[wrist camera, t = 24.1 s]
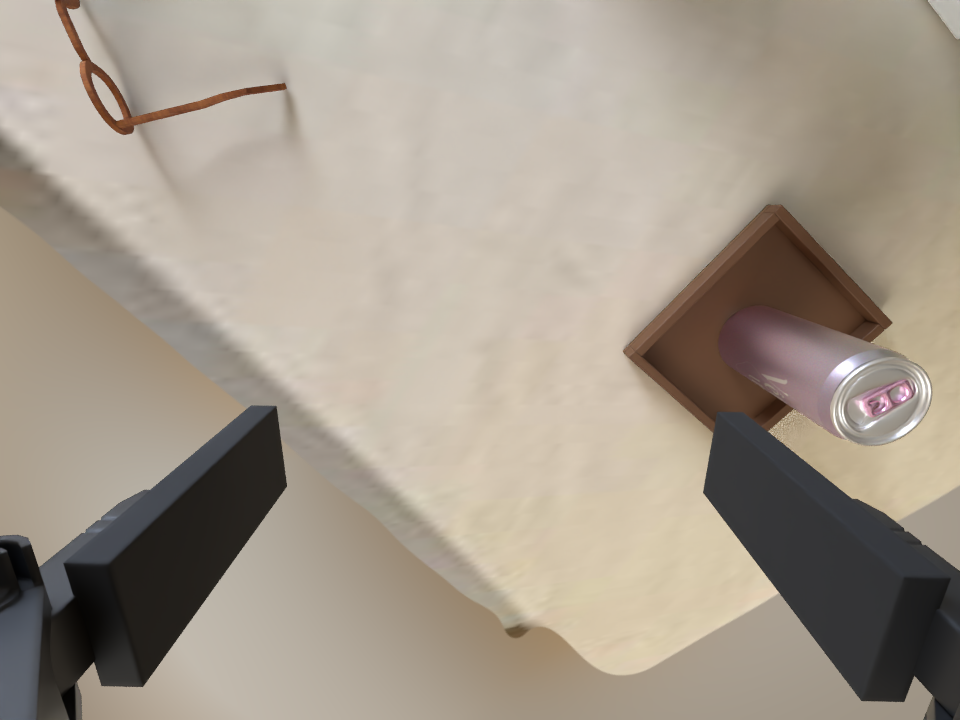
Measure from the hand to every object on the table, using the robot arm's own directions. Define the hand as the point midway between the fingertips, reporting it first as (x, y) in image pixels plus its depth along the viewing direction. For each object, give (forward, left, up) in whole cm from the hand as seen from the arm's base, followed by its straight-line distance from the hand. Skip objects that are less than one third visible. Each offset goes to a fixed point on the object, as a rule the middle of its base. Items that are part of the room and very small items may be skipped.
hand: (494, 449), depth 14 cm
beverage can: (-12, +20, -28) cm, 37 cm away
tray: (-12, +20, -29) cm, 37 cm away
